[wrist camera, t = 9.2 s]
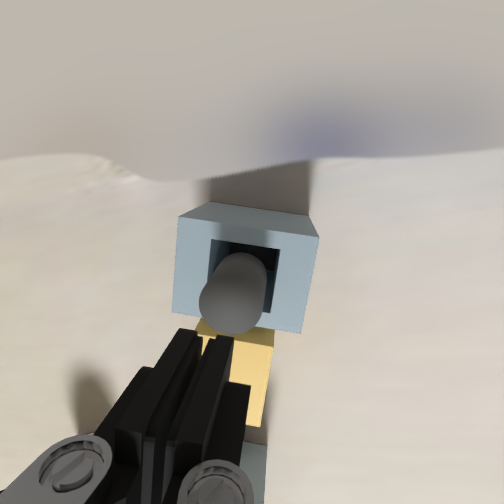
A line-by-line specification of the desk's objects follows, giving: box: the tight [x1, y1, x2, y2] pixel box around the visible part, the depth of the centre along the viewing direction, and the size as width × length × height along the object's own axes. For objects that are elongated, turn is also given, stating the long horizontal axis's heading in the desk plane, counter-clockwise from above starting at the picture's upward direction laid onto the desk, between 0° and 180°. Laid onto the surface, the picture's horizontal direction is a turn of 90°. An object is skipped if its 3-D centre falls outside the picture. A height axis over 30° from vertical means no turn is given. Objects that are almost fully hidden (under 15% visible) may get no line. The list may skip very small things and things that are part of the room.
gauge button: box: [199, 252, 267, 335], centre depth 17 cm, size 3×3×4 cm
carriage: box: [195, 317, 275, 427], centre depth 24 cm, size 5×6×8 cm
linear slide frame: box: [172, 202, 319, 504], centre depth 25 cm, size 8×29×9 cm, turn 172°
